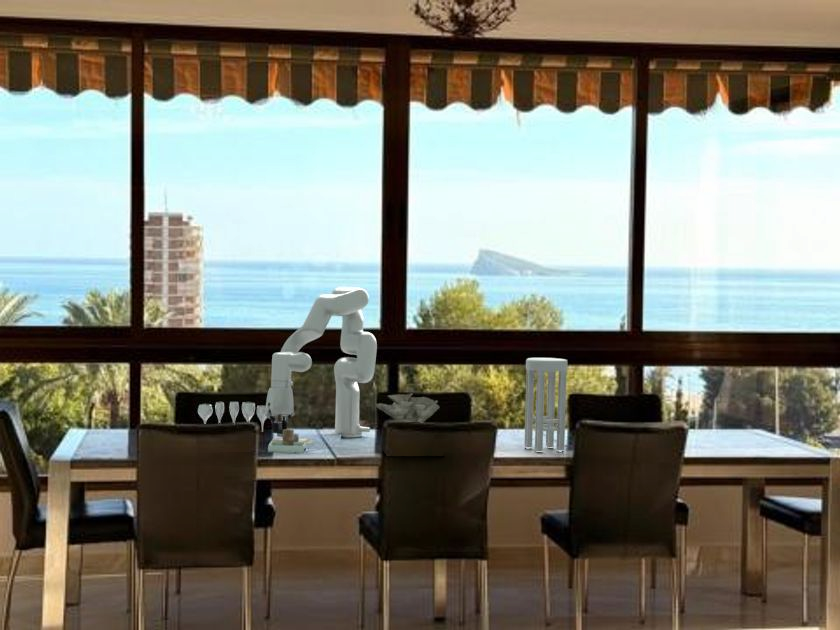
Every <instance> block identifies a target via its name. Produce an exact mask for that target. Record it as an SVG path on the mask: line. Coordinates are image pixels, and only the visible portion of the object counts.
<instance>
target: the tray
mask: <svg viewBox="0 0 840 630" xmlns="http://www.w3.org/2000/svg"><path fill="white" fill-rule="evenodd" d="M270 442H271V443H270ZM270 442H269V443H270V444H268V447H267V453H284V452H293V453H292V454H296V453H297V452H298V453H297V454H304V453H305V452H306V450H307V449H306V446H307V445H306V442H294V444H293V446H286V445H283V442H276V441H272V440H270ZM294 452H296V453H294Z"/></svg>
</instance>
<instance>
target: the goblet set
mask: <svg viewBox="0 0 840 630" xmlns="http://www.w3.org/2000/svg"><path fill="white" fill-rule="evenodd" d="M212 406H213V405H212V404H210V403H200V404H199V405H198V408H197V413H198V415H199V417H200V418H201V419H202V420H203V423H204V424H206V425H207V420H208V419H209V418H210V417H211V416H212V414H213V411H214V410H213V407H212ZM214 406H215V407H214V409H215V415H216V416H217V420H218V424H219V423H220V424H221V420H222V417H223V416H224V415H223V414H224V413H225V403H224V401H216V402H215V405H214ZM228 408H229V413H230V414H229V415H230V416H231V419H232V424H233V423H234V424H235V422H236V418H237V416H238V414H239V410H240V405H239V401H230V402H229V407H228ZM255 410H256V415H257V418H258V419H259V421H260V423H261V433H263V432H264V423H265V421H266V420H267V419H268V418H267V417H266V416H265V413H266V404H265V405H257V407H256V403H255V402H253V401H252V402H251V401H244V402H242V404H241V411H242V414H243V415H242V416H243V417H244V419H245V420H246V423H247V422H249V423H250V421H251V420H252V418H253V416H254V415H255Z"/></svg>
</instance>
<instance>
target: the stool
mask: <svg viewBox="0 0 840 630" xmlns="http://www.w3.org/2000/svg"><path fill="white" fill-rule="evenodd" d="M525 370H526V379H525V380H526V381H525V385H526V387H525V413H524V414H525V415H524V420H525V421H524V446H525V447H532V448H533V434H534V433H533V431H534V429H535V431H534V432H535V434H534V452H535V451H544V449H543V448H544V447H543V446H544V432H545V447H546V446H547V447H553V448H554V444H555V441H554V440H555V439H554V437H555V432H556V447H555V448H556V449H557V450H564V451H565V441H566V438H565V436H566V434H565V433H566V408H567V407H566V405H567V403H566V401H567V374H568V372H567V371H568V359H565V358H556V357H528V358H526V360H525ZM535 371H536V390H535ZM546 372H547V391H546V392H547V394H546V395H547V396H546V416H545V415H544V413H545V412H544V411H545V410H544V409H545V384H546V382H545V381H546ZM557 372H558V388H557V416H556V417H557V418H556V419H555V409H556V408H555V407H556V382H557V381H556V379H557V378H556V377H557V376H556V373H557ZM535 391H536V393H535ZM534 394H536V396H534ZM534 397H536V398H535V399H536V400H535V416H534ZM534 421H535V424H534ZM555 424H556V427H555Z"/></svg>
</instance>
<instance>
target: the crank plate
mask: <svg viewBox="0 0 840 630" xmlns="http://www.w3.org/2000/svg"><path fill="white" fill-rule="evenodd" d="M271 441H276V442H283V437H274V438H272V440H271ZM271 441H270V442H269V444H270V443H271ZM312 441H313V438H299V442H306V446H309V445H310V444H311V442H312ZM269 444H268V445H269Z"/></svg>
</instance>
